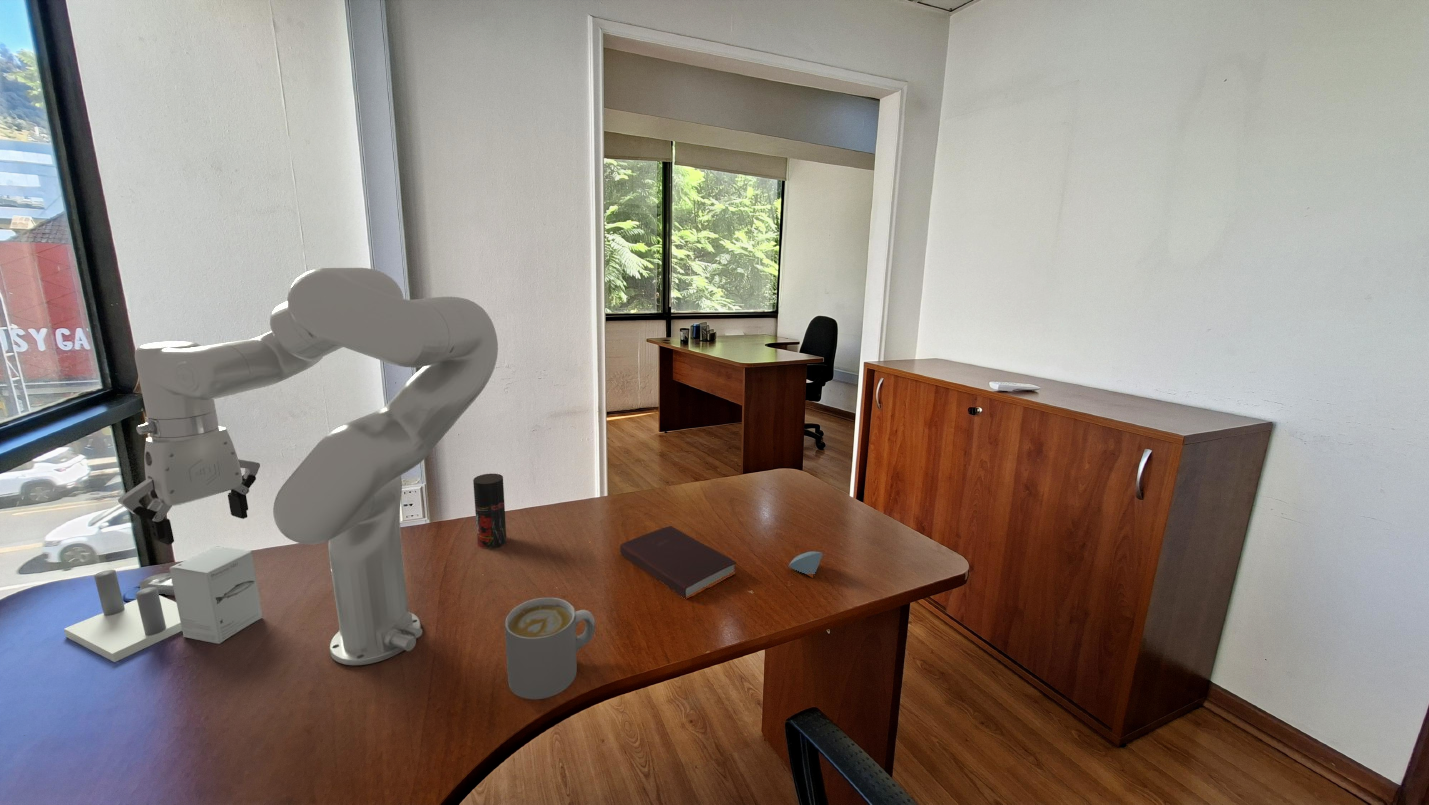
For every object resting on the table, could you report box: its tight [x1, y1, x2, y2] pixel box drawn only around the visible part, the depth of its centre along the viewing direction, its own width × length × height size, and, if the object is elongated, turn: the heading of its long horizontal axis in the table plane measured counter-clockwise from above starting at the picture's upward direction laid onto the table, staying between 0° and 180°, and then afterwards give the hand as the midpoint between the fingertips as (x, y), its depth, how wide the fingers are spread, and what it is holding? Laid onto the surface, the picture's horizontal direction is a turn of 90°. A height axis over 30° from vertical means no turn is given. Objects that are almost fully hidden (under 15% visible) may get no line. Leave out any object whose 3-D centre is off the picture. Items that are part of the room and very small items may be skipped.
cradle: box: [63, 569, 182, 663], centre depth 90 cm, size 14×11×8 cm
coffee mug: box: [504, 596, 596, 700], centre depth 84 cm, size 13×10×10 cm
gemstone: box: [788, 550, 824, 574], centre depth 114 cm, size 8×8×5 cm
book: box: [619, 525, 737, 600], centre depth 116 cm, size 14×22×4 cm, turn 43°
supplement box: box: [168, 546, 264, 645], centre depth 90 cm, size 7×7×13 cm
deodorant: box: [472, 473, 507, 550], centre depth 121 cm, size 6×6×15 cm
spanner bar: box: [139, 572, 175, 596], centre depth 101 cm, size 16×4×2 cm, turn 88°
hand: (204, 528), depth 88 cm, fingers open, 9 cm apart
